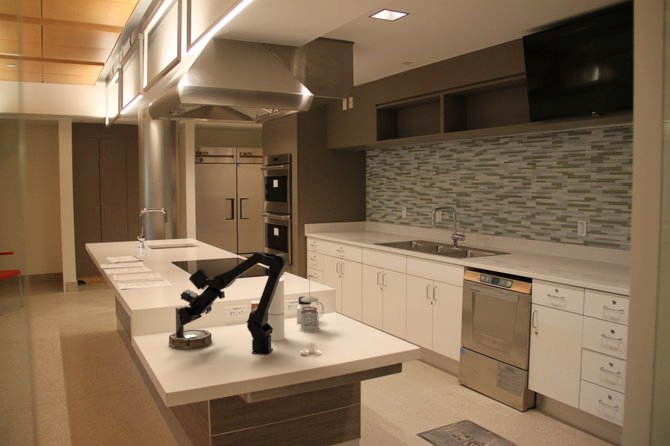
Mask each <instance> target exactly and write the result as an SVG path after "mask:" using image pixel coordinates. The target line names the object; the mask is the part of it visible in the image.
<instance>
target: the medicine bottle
mask: <svg viewBox="0 0 670 446" xmlns="http://www.w3.org/2000/svg"><path fill="white" fill-rule="evenodd" d="M306 296H307V295H301V296H299V297H298V305H297V307H296V324H301V311H304V310H302V308H303V307H309V302H302V301H301V299H302V298H303V297H306ZM310 307H314V306H313V305H312V302H310ZM305 314H313V313H310V312H307V313H305ZM308 319H312V318H308ZM305 320H307V319H305ZM308 322H311V321H308ZM305 323H306V322H305Z"/></svg>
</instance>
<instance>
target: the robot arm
mask: <svg viewBox="0 0 670 446" xmlns="http://www.w3.org/2000/svg"><path fill="white" fill-rule="evenodd" d="M290 261H291V260H290V257H289V256H288V255H287V254H286V253H279V254H276V253H269V252H265V251H262V250H260V251H256V252H254V253H253V254H252V255H251V256H249V257H248V258H246V259H245V260H244V261H242V262H240V263H239V264H238V265H236V266H235V267H233V268H232V269H230V270H226V271H225V272H223V273H220V274H218V275H216V276H213V277H211V276H210V275H209V274H208V273H207V272H206V271H205V269H204V268H202V267H201V268H199V269H198V270H197V271H196V272H194V273H193V274H191V275H190V276H189V278H188V280H189V281H190V282H191V284H193V286H194V287H195V288H196V289H197V290H199V291H200V290H201V291H202V292H201V293H200V294H198V293H196V292H195V291H193V290H191V289H185V290H183V291H182V293H181V294H180V300H183V301H185V302H187V303H188V305H189V306H186V305H185V306H181V307H182V308H180V309H179V310H178V313H179V315H180V316H181V317H182V318H183V321H182V323H181V324H182V325H184V326H185V325H187V324H190V323H191V322H194V321H196V320H199V319H200V318H202V317H203V316H202V315H203V314H204V313H205V315H207V314H209V313H211V312H212V305H213V303H214V302H215V301H216V300H217V299H220V300H222V299H225V298H226V296H225V295H226V294H225V291H224V289H226V288H227V289H228V288H229V287H231V286H232V285H233V284H234V283H235V282H236V281H237V279H238V278H240V276H242V275H243V274H245V273H246V272H248V271H250V270H251V269H252V268H254V267H256V266H257V265H258V264H261V265H263V266H266V267H268V278H267V279H268V280H267V279H266V283H265V284H264V285H265V286H264V288H263V291H262V293H261V297H260V299H259V301H260V302H259V305H258V307H257V310H254V311H252V312H251V311H250V313H249V315H248V319H247V320H246V323H247V324H246V325H247V326H246V327H247V330H248V331H249V332H250V335H251V338H252V340H251V343H252V344H251V348H252V351H251V354H259V355H268V354H270V353H271V352H272V351H273V350H274V348H273V347H272V341H271V335H270V334H271V333H272V331H273V328H272V327H271V326H270V325H269V324H268V323H267V322H268V310H269V307H270V304H271V302H272V299H273V296H274V293H275V291H276V288H277V285H278V282H279V280H280V279H282V276H283V274H284V273H285V272H286V270H288V269H287V268H288V267H289V265H290ZM222 290H223V291H222Z"/></svg>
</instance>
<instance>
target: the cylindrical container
mask: <svg viewBox="0 0 670 446" xmlns="http://www.w3.org/2000/svg"><path fill="white" fill-rule="evenodd" d="M267 280H268V278H267V279H266V281H267ZM267 323H268V324H269V325H270V326H271V327H272V328H273V331H272V333H271V334H270V335H271V342H275V341H276V342H277V341H278V342H279V341H283V340H285V279H284V278H280V280H279V282H278V285H277V288H276V291H275V293H274V296H273V299H272V302H271V304H270V307H269V310H268V322H267Z"/></svg>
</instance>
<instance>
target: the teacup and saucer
mask: <svg viewBox="0 0 670 446" xmlns="http://www.w3.org/2000/svg"><path fill="white" fill-rule="evenodd" d="M306 347H307V348H306V349H304V350H302V349H301V350H300V351H299V354H300V355H302V356H307V357H310V356H311V357H315V356H319V355H322V351H321V350H319V349H317V348H318V344H317V343H316V342H314V341H309V342H306ZM315 352H318V353H317V354H316V353H315ZM314 353H315V354H314Z"/></svg>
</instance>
